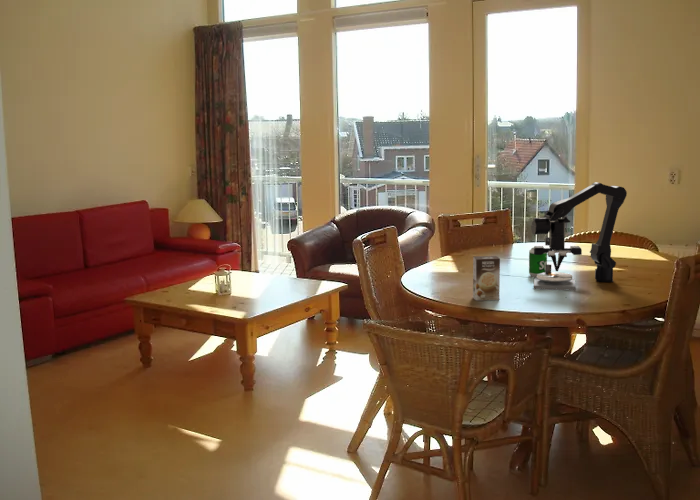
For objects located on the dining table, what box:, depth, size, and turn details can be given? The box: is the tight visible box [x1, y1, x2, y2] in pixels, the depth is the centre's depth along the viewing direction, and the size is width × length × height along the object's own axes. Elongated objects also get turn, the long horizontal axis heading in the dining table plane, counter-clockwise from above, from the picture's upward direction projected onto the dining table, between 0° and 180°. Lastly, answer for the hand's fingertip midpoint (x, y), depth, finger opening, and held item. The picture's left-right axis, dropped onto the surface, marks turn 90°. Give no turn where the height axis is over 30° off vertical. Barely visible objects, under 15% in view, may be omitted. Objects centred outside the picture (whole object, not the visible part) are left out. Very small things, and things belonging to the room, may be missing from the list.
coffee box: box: [472, 255, 501, 301], centre depth 283 cm, size 9×6×16 cm
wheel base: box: [533, 277, 576, 291], centre depth 303 cm, size 16×15×3 cm
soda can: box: [528, 247, 548, 278], centre depth 322 cm, size 8×8×12 cm
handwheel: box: [536, 263, 573, 282], centre depth 302 cm, size 14×14×5 cm
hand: (556, 271), depth 306 cm, fingers closed
